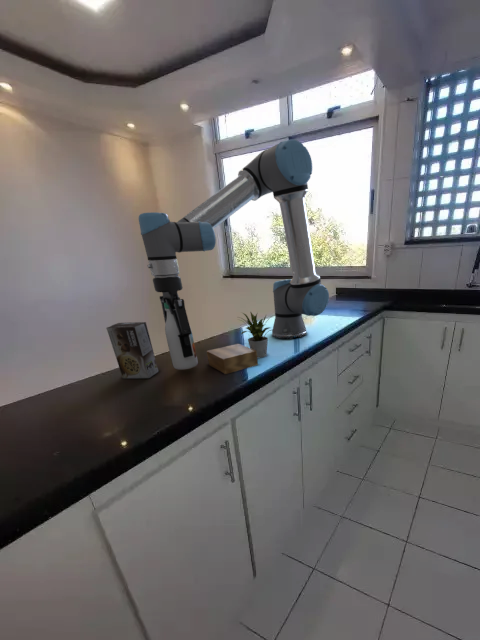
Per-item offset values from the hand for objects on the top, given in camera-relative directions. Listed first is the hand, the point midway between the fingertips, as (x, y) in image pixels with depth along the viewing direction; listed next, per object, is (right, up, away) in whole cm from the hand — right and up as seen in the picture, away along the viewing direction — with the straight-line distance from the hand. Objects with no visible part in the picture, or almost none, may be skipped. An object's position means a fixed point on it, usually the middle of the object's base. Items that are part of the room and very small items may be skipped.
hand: (183, 353), depth 98 cm
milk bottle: (0, -4, +2) cm, 4 cm away
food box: (-14, -7, +1) cm, 15 cm away
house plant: (+21, +1, +15) cm, 26 cm away
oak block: (+15, -3, +6) cm, 16 cm away
